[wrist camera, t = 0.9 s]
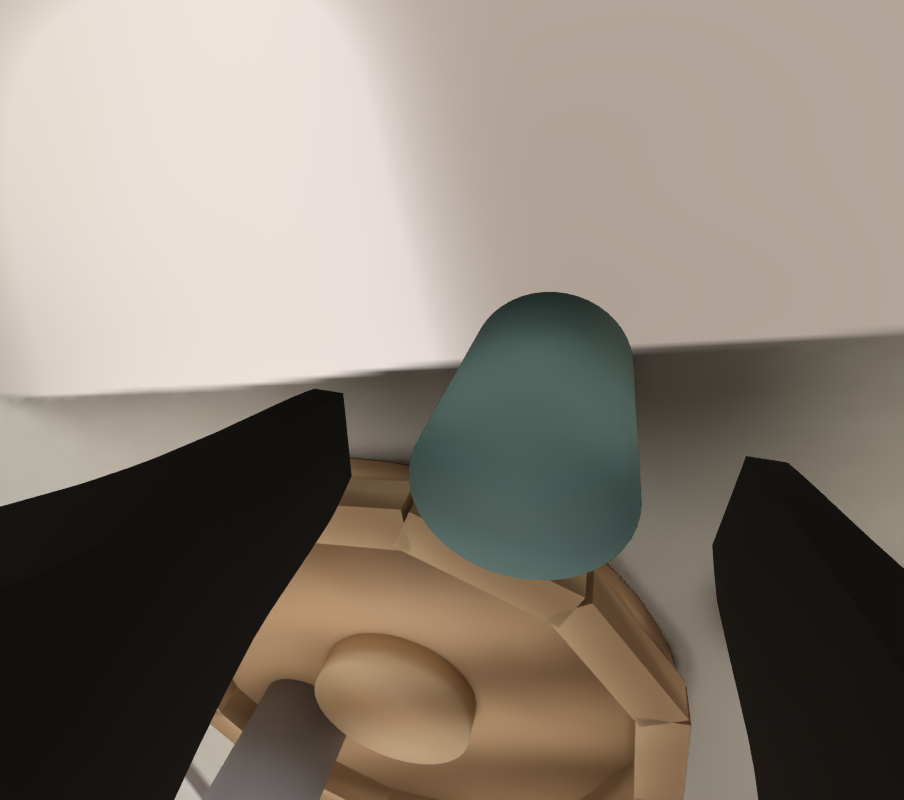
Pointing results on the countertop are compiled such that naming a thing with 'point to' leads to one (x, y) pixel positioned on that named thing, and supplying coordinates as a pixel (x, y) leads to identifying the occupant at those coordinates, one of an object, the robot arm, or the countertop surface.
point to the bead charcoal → (281, 749)
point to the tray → (466, 668)
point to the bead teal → (535, 443)
